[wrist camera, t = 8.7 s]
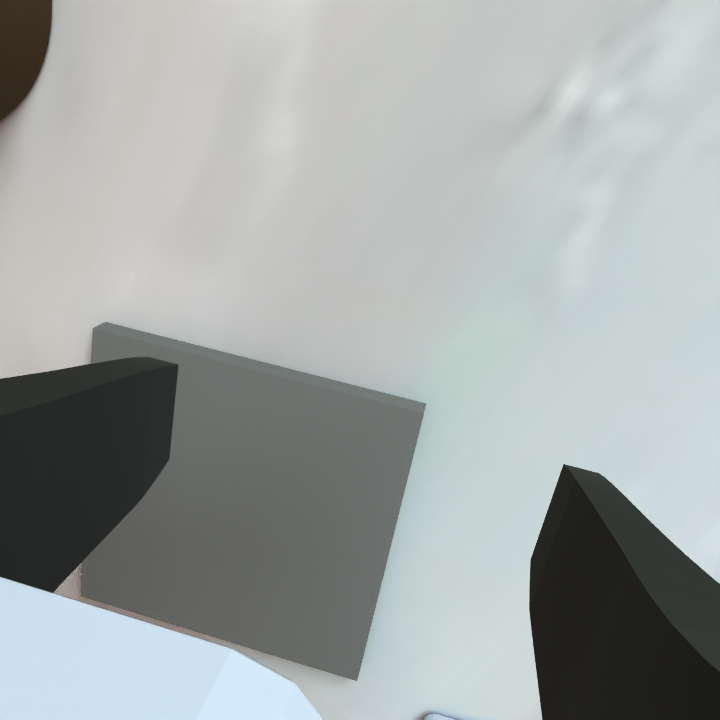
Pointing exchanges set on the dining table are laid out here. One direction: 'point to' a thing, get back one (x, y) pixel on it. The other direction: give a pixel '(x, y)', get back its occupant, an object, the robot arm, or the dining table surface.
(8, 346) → the dining table surface
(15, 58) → the olive oil
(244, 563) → the mat
